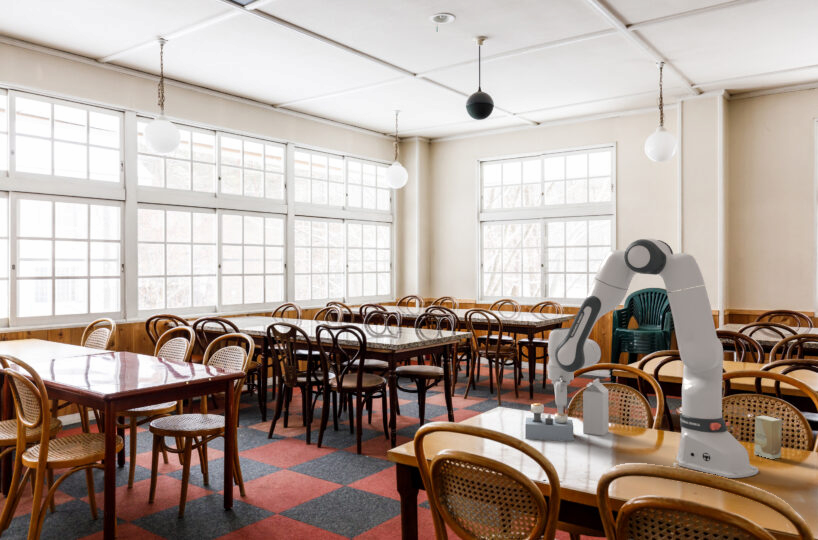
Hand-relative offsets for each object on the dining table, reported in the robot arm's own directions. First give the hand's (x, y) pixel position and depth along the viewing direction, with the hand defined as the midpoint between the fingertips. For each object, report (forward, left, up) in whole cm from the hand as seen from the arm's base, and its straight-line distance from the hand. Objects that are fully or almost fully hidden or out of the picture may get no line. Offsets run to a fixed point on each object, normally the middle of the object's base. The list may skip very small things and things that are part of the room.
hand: (560, 413), depth 221 cm
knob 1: (+5, +6, -5) cm, 9 cm away
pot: (0, +5, -3) cm, 6 cm away
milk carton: (-2, -15, -8) cm, 17 cm away
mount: (+2, +3, -8) cm, 9 cm away
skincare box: (-49, -41, -8) cm, 64 cm away
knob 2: (0, 0, -8) cm, 8 cm away
